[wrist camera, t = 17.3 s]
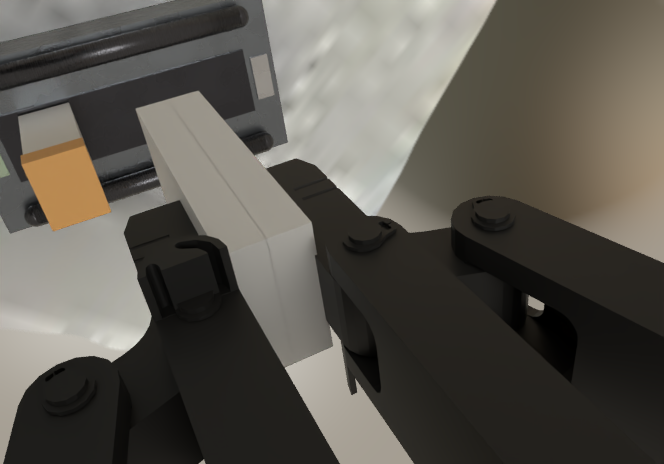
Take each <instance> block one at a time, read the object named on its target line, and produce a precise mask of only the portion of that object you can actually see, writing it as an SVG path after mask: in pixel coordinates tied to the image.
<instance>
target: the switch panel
mask: <svg viewBox="0 0 664 464" xmlns="http://www.w3.org/2000/svg"><path fill="white" fill-rule="evenodd" d="M195 91H199V92H200V93H201V94H202V95H203V97H204V98H205V99H206V100H207V101H208V102H209V104H210V105H211V106H212V107H213V108H214V109H215V110H216V112H217V113H218V114H219V115H220V116H221V117H222V119H223V120H224V121H225V122H226V123H227V124H228V126H229V127H230V128H231V129H232V130H233V131H234V133H235V134H236V135H237V136H238V137H239V138H240V140H241V141H242V142H243V143H244V144H245V145H246V147H247V148H248V149H249V150H250V151H251V152H252V153H253V155H257V154H260V153H263V152H266V151H269V150H270V149H271V148H272V147H275V146H278V145H281V144H284V143H287V142H288V140H287V135H286V130H285V124H284V119H283V113H282V108H281V102H280V97H279V92H278V86H277V81H276V75H275V70H274V64H273V59H272V53H271V48H270V43H269V37H268V32H267V26H266V21H265V15H264V10H263V4H262V0H175V1H171V2H167V3H163V4H158V5H154V6H150V7H146V8H142V9H138V10H134V11H130V12H125V13H121V14H117V15H113V16H109V17H105V18H101V19H97V20H92V21H88V22H84V23H80V24H76V25H72V26H68V27H64V28H60V29H55V30H51V31H47V32H43V33H39V34H35V35H31V36H27V37H22V38H18V39H14V40H10V41H6V42H2V43H0V215H1V217H2V219H3V221H4V223H5V225H6V226H7V228H8V230H9V232H10V233H13V232H16V231H19V230H23V229H26V228H29V227H32V226H35V227H37V226H42V225H45V224H48V223H49V222H48V220H47V218H46V215H45V213H44V211H43V209H42V207H41V205H40V203H39V201H38V199H37V196H36V194H35V192H34V190H33V188H32V186H31V184H30V182H29V180H28V177H27V175H26V173H25V171H24V169H23V167H22V165H21V157H20V156H21V155H23V152H22V144H21V136H20V128H19V120H18V116H21V115H25V114H28V113H32V112H36V111H39V110H43V109H47V108H50V107H54V106H57V105H61V104H65V103H68V102H69V104H70V107H71V109H72V112H73V114H74V117H75V119H76V122H77V124H78V127H79V129H80V132H81V134H82V137H83V139H84V142H85V145H86V147H87V150H88V152H89V155H90V157H91V160H92V163H93V166H94V168H95V171H96V173H97V176H98V178H99V181H100V183H101V186H102V188H103V191H104V193H105V196H106V199H107V201H108V203H111V202H114V201H118V200H121V199H124V198H127V197H130V196H133V195H136V194H139V193H142V192H145V191H148V190H151V189H154V188H157V187H160V186H161V184H160V181H159V178H158V175H157V172H156V169H155V166H154V163H153V160H152V157H151V154H150V151H149V148H148V145H147V142H146V139H145V136H144V133H143V130H142V127H141V124H140V121H139V118H138V115H137V112H136V108H140V107H143V106H146V105H150V104H153V103H157V102H160V101H164V100H167V99H171V98H174V97H178V96H181V95H185V94H188V93H191V92H195Z"/></svg>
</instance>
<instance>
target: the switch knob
mask: <svg viewBox="0 0 664 464" xmlns="http://www.w3.org/2000/svg"><path fill="white" fill-rule="evenodd" d="M18 120H19V128H20V136H21V144H22V152H23V155H21V156H20V157H21V165H22V167H23V169H24V171H25V173H26V175H27V177H28V180H29V182H30V184H31V186H32V188H33V190H34V192H35V194H36V196H37V199H38V201H39V203H40V205H41V207H42V209H43V211H44V213H45V215H46V218H47V220H48V222H49V224H50V226H51V228H52V230H53V231H56V230H59V229H62V228H65V227H68V226H71V225H74V224H77V223H80V222H83V221H86V220H89V219H92V218H95V217H98V216H101V215H104V214H107V213H110V212H111V210H110V207H109V204H108V201H107V199H106V196H105V193H104V191H103V188H102V186H101V183H100V181H99V178H98V176H97V173H96V171H95V168H94V166H93V163H92V160H91V157H90V155H89V152H88V150H87V147H86V145H85V142H84V139H83V137H82V134H81V132H80V129H79V127H78V124H77V122H76V119H75V117H74V114H73V112H72V109H71V107H70V104H69V102H68V103H65V104H61V105H57V106H54V107H50V108H47V109H43V110H39V111H36V112H32V113H28V114H25V115H21V116H18Z"/></svg>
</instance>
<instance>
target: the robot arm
mask: <svg viewBox="0 0 664 464" xmlns="http://www.w3.org/2000/svg"><path fill="white" fill-rule="evenodd" d="M136 112H137V115H138V118H139V121H140V124H141V127H142V130H143V133H144V136H145V139H146V142H147V145H148V148H149V151H150V154H151V157H152V160H153V163H154V166H155V169H156V172H157V175H158V178H159V181H160V184H161V187H162V190H163V193H164V196H165V199H166V202H167V204H166V205H163V206H160V207H157V208H154V209H151V210H148V211H145V212H142V213H139V214H136V215H133V216H130V217H129V220H128V223H127V226H126V229H125V231H124V235H125V238H126V241H127V244H128V247H129V249H130V252H131V255H132V258H133V261H134V263H135V266H136V269H137V272H138V275H137V279H138V282H139V284H140V287H141V289H142V292H143V294H144V297H145V299H146V302H147V304H148V307H149V310H150V312H151V315H152V317H151V322H150V326H149V328H148V329H147V331H146V333H145V335H144V336H143V337H142V338H141V340H140V341H139V342H138V343H137V344H136V345H135V346H134V347H133V348H131V349H130V350H129V351H128V352H126V353H125V354H124V355H122V356H121V357H119V358H118V359H116V360H115V361H113V362H112V363H111V362H110V361H109V360H107V359H104V358H100V357H95V356H88V357H79V358H74V359H71V360H68V361H66V362H63V363H60V364H58V365H56V366H55V367H53V368H51V369H49V370H48V371H46V372H45V373H43V374H42V375H40V376H39V377H38V378H37V379H36V380H35V381H34V382H33V383H32V384H31V386H30V387H29V388H28V389H27V390H26V391H25V393H24V395H23V398H22V399H21V401H20V403H19V405H18V409H17V413H16V417H15V421H14V424H13V428H12V432H11V436H10V440H9V444H8V447H7V452H6V455H5V459H4V463H3V464H199V463H200V462H201V461H202V460H203V459H204V460H205V463H206V464H340V463H339V462H338V460H337V458H336V456H335V455H334V453H333V451H332V450H331V448H330V446H329V444H328V443H327V441H326V439H325V437H324V436H323V434H322V432H321V431H320V429H319V427H318V425H317V424H316V422H315V420H314V418H313V417H312V415H311V413H310V411H309V410H308V408H307V406H306V404H305V403H304V401H303V399H302V397H301V396H300V394H299V392H298V390H297V389H296V387H295V385H294V384H293V382H292V380H291V378H290V377H289V375H288V373H287V372H286V370H285V367H287V366H289V365H292V364H294V363H296V362H298V361H301V360H303V359H305V358H307V357H310V356H312V355H314V354H317V353H319V352H321V351H323V350H325V349H328V348H330V347H332V346H333V343H332V337H331V331H330V326H331V327H332V329H333V330H334V332H335V333H336V334H337V336H338V337H339V339H340V340H341V344H342V351H343V357H344V363H345V369H346V375H347V382H348V386H349V389H350V392H351V395H353V394H355V393H357V388H356V382H355V378H356V380H357V381H358V383H359V384H360V385H361V387H362V388H363V390H364V391H365V393H366V394H367V396H368V397H369V399H370V400H371V401H372V403H373V404H374V406H375V407H376V409H377V410H378V412H379V413H380V415H381V416H382V417H383V419H384V420H385V422H386V423H387V425H388V426H389V428H390V429H391V431H392V432H393V433H394V435H395V436H396V438H397V439H398V441H399V442H400V444H401V445H402V446H403V448H404V449H405V451H406V452H407V454H408V455H409V457H410V458H411V460H412V461H413V463H414V464H664V263H662V262H660V261H658V260H655V259H653V258H651V257H648V256H646V255H644V254H641V253H639V252H637V251H634V250H632V249H630V248H627V247H625V246H622V245H620V244H618V243H616V242H613V241H611V240H609V239H606V238H604V237H601V236H599V235H597V234H595V233H592V232H590V231H587V230H585V229H583V228H580V227H578V226H576V225H573V224H571V223H569V222H566V221H564V220H562V219H559V218H557V217H555V216H552V215H550V214H548V213H545V212H543V211H541V210H538V209H536V208H534V207H531V206H529V205H527V204H524V203H522V202H520V201H517V200H513V199H510V198H506V197H500V196H499V197H498V196H484V197H478V198H473V199H470V200H468V201H466V202H463V203H461V204H460V205H459V206H458V207H457V208H456V209H455V210H454V211H453V214H452V218H451V228H444V229H438V230H432V231H425V232H415V233H408V232H407V231H406V230H405V229H404V228H403V227H402V226H401V225H399V224H398V223H396V222H394V221H393V220H391V219H388V218H383V217H379V216H366V215H365V214H364V213H363V212H362V211H361V210H360V209H359V208H358V207H357V206H356V205H355V204H354V203H353V202H352V201H351V200H350V199H349V198H348V197H347V196H346V195H345V194H344V193H343V192H342V191H341V190H340V189H339V188H337V187H336V185H335V184H334V183H333V182H332V181H331V180H330V179H327V176H326V175H325V174H324V173H323V172H322V171H321V170H319V169H318V168H317V167H316V166H315V165H313V164H310V163H307V162H304V161H302V160H299V159H293V160H290V161H287V162H284V163H281V164H278V165H275V166H272V167H269V168H267V169H265V167H264V166H263V165H262V164H261V163H260V162H259V160H258V159H257V158H256V157H255V156H254V155H253V153H252V152H251V151H250V150H249V149H248V148H247V147H246V145H245V144H244V143H243V142H242V141H241V140H240V138H239V137H238V136H237V135H236V134H235V133H234V131H233V130H232V129H231V128H230V127H229V126H228V124H227V123H226V122H225V121H224V120H223V119H222V117H221V116H220V115H219V114H218V113H217V112H216V110H215V109H214V108H213V107H212V106H211V105H210V104H209V102H208V101H207V100H206V99H205V98H204V97H203V95H202V94H201V93H200V92H199V91H195V92H191V93H188V94H185V95H181V96H178V97H174V98H171V99H167V100H164V101H160V102H157V103H153V104H150V105H146V106H143V107H140V108H136ZM529 295H530V296H531V297H533V298H535V299H537V300H539V301H541V302H543V303H544V304H545V305H544V310H537V309H535V308H532V307H530V306H529V305H528V297H529ZM329 325H330V326H329Z"/></svg>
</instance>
